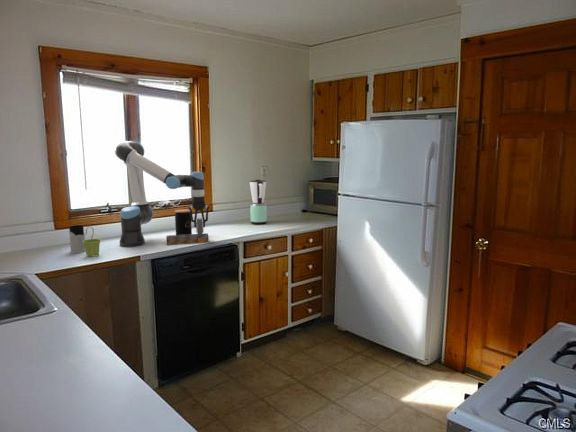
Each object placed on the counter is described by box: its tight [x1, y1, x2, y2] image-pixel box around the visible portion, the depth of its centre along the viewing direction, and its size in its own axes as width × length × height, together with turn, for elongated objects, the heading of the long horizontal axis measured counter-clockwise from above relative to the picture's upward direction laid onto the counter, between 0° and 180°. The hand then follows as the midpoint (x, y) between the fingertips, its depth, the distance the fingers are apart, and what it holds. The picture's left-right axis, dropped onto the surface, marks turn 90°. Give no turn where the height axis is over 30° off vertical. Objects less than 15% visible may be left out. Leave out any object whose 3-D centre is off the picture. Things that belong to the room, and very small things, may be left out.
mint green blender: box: [249, 179, 268, 226], centre depth 347 cm, size 19×13×35 cm
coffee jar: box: [174, 208, 193, 235], centre depth 299 cm, size 11×11×18 cm
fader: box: [196, 217, 204, 235], centre depth 282 cm, size 3×5×11 cm, turn 14°
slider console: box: [165, 232, 210, 246], centre depth 281 cm, size 26×10×4 cm, turn 104°
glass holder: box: [68, 224, 95, 254], centre depth 259 cm, size 9×14×15 cm, turn 138°
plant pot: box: [83, 238, 102, 258], centre depth 247 cm, size 9×9×9 cm
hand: (199, 232), depth 282 cm, fingers closed on fader, 3 cm apart
